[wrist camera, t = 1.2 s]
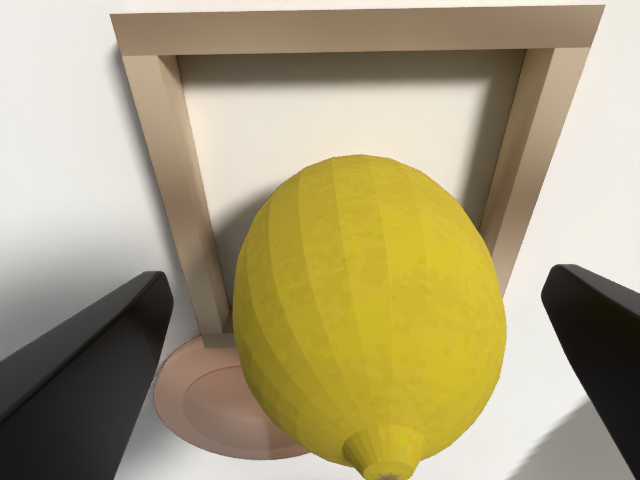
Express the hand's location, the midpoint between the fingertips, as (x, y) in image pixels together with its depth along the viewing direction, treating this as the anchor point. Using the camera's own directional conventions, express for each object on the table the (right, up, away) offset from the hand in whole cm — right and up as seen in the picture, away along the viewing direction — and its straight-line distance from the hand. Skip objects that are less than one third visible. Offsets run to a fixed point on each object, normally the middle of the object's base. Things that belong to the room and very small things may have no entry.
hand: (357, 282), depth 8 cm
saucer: (-4, -6, +9) cm, 11 cm away
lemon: (0, +2, +3) cm, 4 cm away
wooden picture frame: (0, +2, +3) cm, 4 cm away
